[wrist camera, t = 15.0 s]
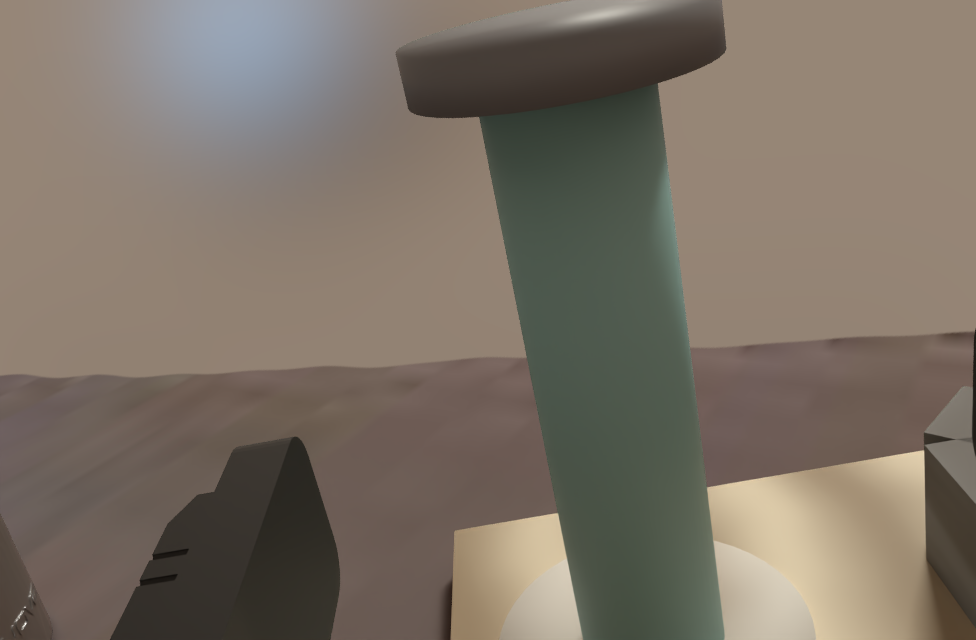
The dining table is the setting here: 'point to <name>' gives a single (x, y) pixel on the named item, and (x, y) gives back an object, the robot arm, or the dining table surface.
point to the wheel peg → (597, 284)
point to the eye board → (778, 553)
